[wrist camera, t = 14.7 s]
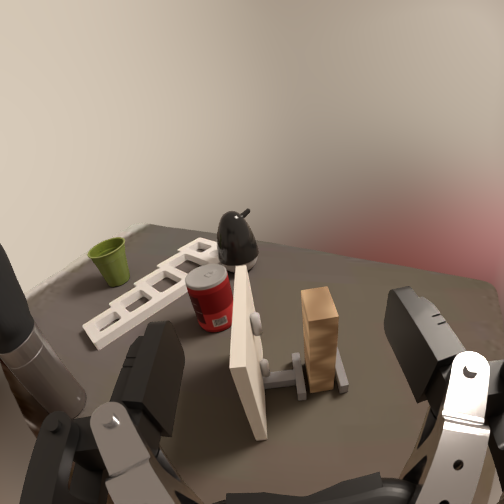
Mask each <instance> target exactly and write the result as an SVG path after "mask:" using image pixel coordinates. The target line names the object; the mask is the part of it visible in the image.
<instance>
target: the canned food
mask: <svg viewBox="0 0 504 504" xmlns="http://www.w3.org/2000/svg"><path fill="white" fill-rule="evenodd" d="M185 283H186V287H187V290H188V293H189V296H190V299H191V302H192V305H193V308H194V311H195V313H196V316H197V319H198V322H199V324H200V326H201V327H202V328H203V329H204V330H206V331H208V332H220V331H223V330H225V329H227V328H229V327H230V326H232V315H233V295H232V291H231V286H230V282H229V278H228V274H227V271H226V268H225V267H224V266H222V265H219V264H207V265H203V266H200V267H198V268H195V269H194V270H192V271H191V272H190V273H188V275H187V276H186V278H185Z"/></svg>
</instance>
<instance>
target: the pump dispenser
mask: <svg viewBox="0 0 504 504" xmlns="http://www.w3.org/2000/svg"><path fill="white" fill-rule="evenodd" d="M249 213H250V209H246V210H245V211H244V212H243V213H241V214H239V213H238V212H235V211H229V212H227V213H225V214H224V215H223V216H222V218H221V220H220V223H219V227H218V232H217V254H218V259H219V261H220V263H221V264H222V265H223V266H224V267H225V268H226V269H227V270H228V271H230V272H233V273H235V269H236V266H243V265H246V266H247V271H248V270H249V269H251V268H252V267H253V266H254V265H255V263H256V261H257V256H258V253H259V251H258V246H257V243H256V240H255V237H254V235H253V232H252V230H251V228H250V226H249V225H248V223H247V222H246V221H245V219H244V218H245V217H246V216H247V215H248V214H249Z"/></svg>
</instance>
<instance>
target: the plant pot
mask: <svg viewBox="0 0 504 504" xmlns="http://www.w3.org/2000/svg"><path fill="white" fill-rule="evenodd" d="M124 243H125V239H124V238H121V237H116V238H111V239H108V240H105V241H103V242H101V243H99V244H97V245H96V246H94V247H93V248H92V249H90V251H89V252H88V257H89V258H91V259H92V261H93V263H94V264H95V265H96V266H97V268H98V269H99V271H100V272H101V274H102V276H103V277H104V279H105V280H106V282H107V283H108V285H109V286H111V287H115V286H120V285H123V284H124V283H125V282H127V281H128V280H129V277H130V274H129V269H128V265H127V260H126V255H125V246H124Z"/></svg>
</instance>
